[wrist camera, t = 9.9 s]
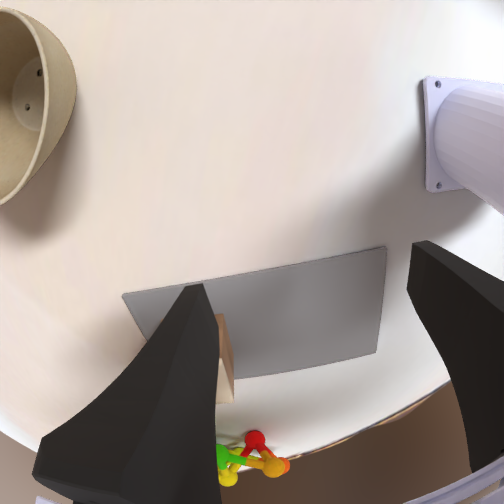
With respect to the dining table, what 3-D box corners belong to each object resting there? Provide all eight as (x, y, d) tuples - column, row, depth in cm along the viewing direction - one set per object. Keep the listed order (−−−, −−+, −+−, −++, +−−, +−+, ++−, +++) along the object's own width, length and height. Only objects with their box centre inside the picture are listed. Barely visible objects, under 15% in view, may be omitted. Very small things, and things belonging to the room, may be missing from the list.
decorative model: (290, 472, 37) (192, 498, 34) (270, 423, 43) (177, 448, 40) (300, 468, 27) (169, 502, 24) (274, 402, 33) (150, 433, 30)
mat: (385, 246, 21) (386, 248, 21) (374, 350, 28) (375, 352, 27) (122, 293, 23) (121, 296, 22) (175, 382, 29) (175, 385, 29)
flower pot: (95, 178, 18) (37, 232, 12) (-12, 151, 16) (-76, 190, 9) (134, 23, 13) (75, 0, 7) (10, 19, 11) (-62, 19, 5)
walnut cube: (149, 368, 19) (161, 318, 24) (171, 404, 22) (178, 358, 26) (221, 365, 19) (223, 313, 23) (233, 402, 22) (233, 354, 26)
